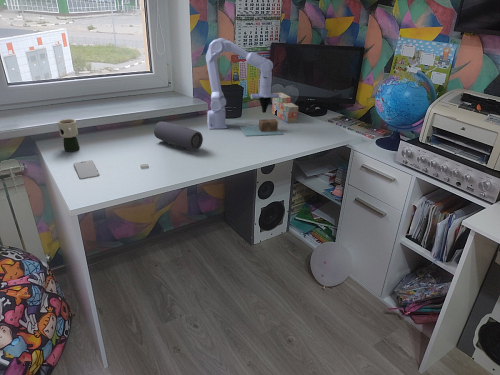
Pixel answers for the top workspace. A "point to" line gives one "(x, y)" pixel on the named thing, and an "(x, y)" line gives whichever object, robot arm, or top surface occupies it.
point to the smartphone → (86, 169)
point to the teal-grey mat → (258, 131)
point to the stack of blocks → (285, 108)
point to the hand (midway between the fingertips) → (263, 112)
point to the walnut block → (268, 125)
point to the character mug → (69, 134)
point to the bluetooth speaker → (178, 135)
